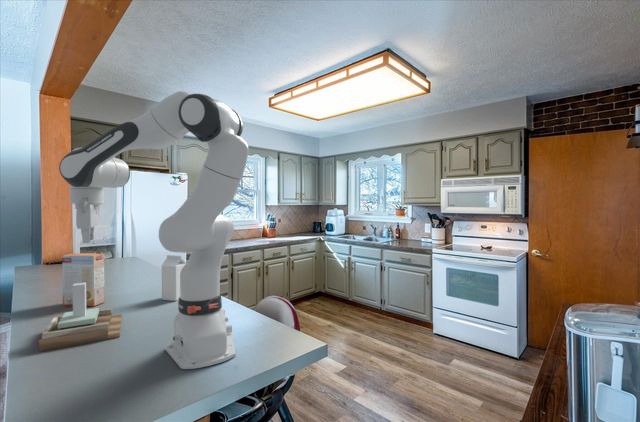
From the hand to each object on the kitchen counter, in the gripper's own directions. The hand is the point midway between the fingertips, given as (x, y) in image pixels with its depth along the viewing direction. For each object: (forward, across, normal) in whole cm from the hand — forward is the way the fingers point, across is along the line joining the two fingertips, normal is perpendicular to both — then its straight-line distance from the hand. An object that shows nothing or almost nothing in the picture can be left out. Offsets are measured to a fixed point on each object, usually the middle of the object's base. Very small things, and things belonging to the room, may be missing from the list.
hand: (88, 241), depth 99 cm
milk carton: (+30, +26, -28) cm, 48 cm away
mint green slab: (+26, 0, +3) cm, 27 cm away
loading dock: (+30, 0, +1) cm, 30 cm away
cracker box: (+29, +36, +5) cm, 47 cm away
